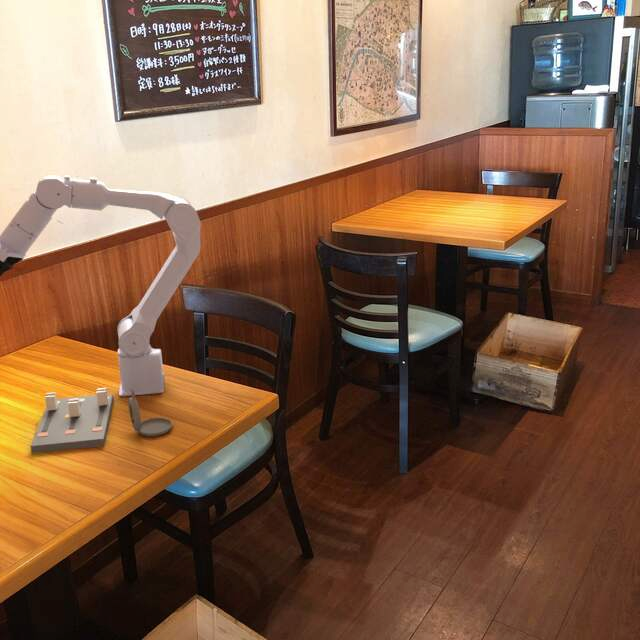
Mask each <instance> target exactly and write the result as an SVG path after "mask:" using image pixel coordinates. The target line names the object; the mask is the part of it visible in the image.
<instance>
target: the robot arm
mask: <svg viewBox="0 0 640 640" xmlns="http://www.w3.org/2000/svg"><path fill="white" fill-rule="evenodd" d="M35 189H36V190H35V191H34V192H33V193H31V194H30V195H29V196H28V200H25V201H24V203H23V204H22V205H21V207H20V208H19V209H18V211H17V212H16V213H15V215H14V216H13V217H12V218H11V220H10V222H9V223H8V224H7V225H6V227H5V229H3V231H2V232H1V234H0V277H1V276H2V275H3V274H5V272H7V271H10V270H11V269H13V268H14V265H16V264H17V263H19V262H22V261H23V260H24V259H25V257H26V256H27V252H28V251H29V250H30V248H31V247H32V245H33V244H34V243H35V242H36V240H38V237H39V236H40V235H41V234H42V232H43V231H44V230H45V228H46V227H47V225H48V224H49V223H50V221H52V217H53V215H54V214H55V213H56V211H57V210H58V209H60V208H63V207H64V206H66V207H67V208H69V209H80V210H81V209H82V210H90V211H103V210H104V209H105V208H107V207H108V206H113V207H121V208H129V209H137V210H145V211H149V212H150V213H152V214H153V215H155V217H157V218H159V219H160V220H163V219H165V221H166V223H167V225H168V227H169V229H170V230H171V232H172V236H173V239H174V242H175V247H174V248H173V250H171V253H170V254H169V255H168V258H167V259H166V260H165V263H164V264H163V265H162V267H161V269H160V270H159V271H158V273H157V275H156V276H155V278H154V280H153V281H152V283H151V284H150V286H149V287H148V289H147V291H146V292H145V294H144V296H143V297H142V299H141V300H140V301H139V303H138V305H137V306H136V307H134V308H133V309H132V310H131V312H130V313H129V315H127V316H126V317H124V318H122V319H121V320H120V321H119V323H118V325H117V329H116V331H117V336H118V347H119V348H118V349H117V359H118V368H119V375H120V386H119V389H118V390H119V391H118V397H130V396H132V395H131V393H132V392H131V390H130V387H131V389H132V391H134V393H135V396H142V395H151V394H152V395H153V394H161V393H164V390H165V389H164V388H165V387H164V386H165V385H164V384H165V380H166V378H165V377H166V376H165V372H164V368H163V358H162V357H163V355H162V349H161V348H153V347H152V345H151V344H150V338H151V336H152V334H153V333H154V330H155V328H156V324H157V321H158V318H159V317H160V316H161V314H162V313H163V311H164V309H165V308H166V307H167V304H168V303H169V301H170V300H171V298H172V296H174V293H175V292H176V290H177V288H178V287H179V285H180V284H181V283H182V281H183V280H184V278H185V276H187V275H186V274H187V273H188V272H189V270H190V268H191V267H192V265H193V264H194V263H195V261H196V259H197V257H198V256H199V254H200V252H201V248H202V247H201V227H202V222H201V220H200V217H199V214H198V212H197V211H196V208H195V207H193V206H192V204H191V202H189V200H188V199H186V197H185V198H184V197H183V196H173V195H171V194H168V193H164V192H155V191H142V190H141V191H140V190H129V189H128V190H125V189H111V188H109V187H108V186H107V185H106V184H105V182H103V181H98V178H97V177H90V178H89V180H85V179H78V178H71V176H70V175H64V178H61V177H60V176H58V175H47V176H44V177H43V178H42V179H40V180H39V181H38V182H37V185H36V188H35Z"/></svg>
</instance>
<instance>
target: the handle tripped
mask: <svg viewBox="0 0 640 640" xmlns="http://www.w3.org/2000/svg"><path fill="white" fill-rule="evenodd" d="M68 408H69V414H70V417H76V416H80V412H81V411H80V404H79V398H76V399H69V400H68Z"/></svg>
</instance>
